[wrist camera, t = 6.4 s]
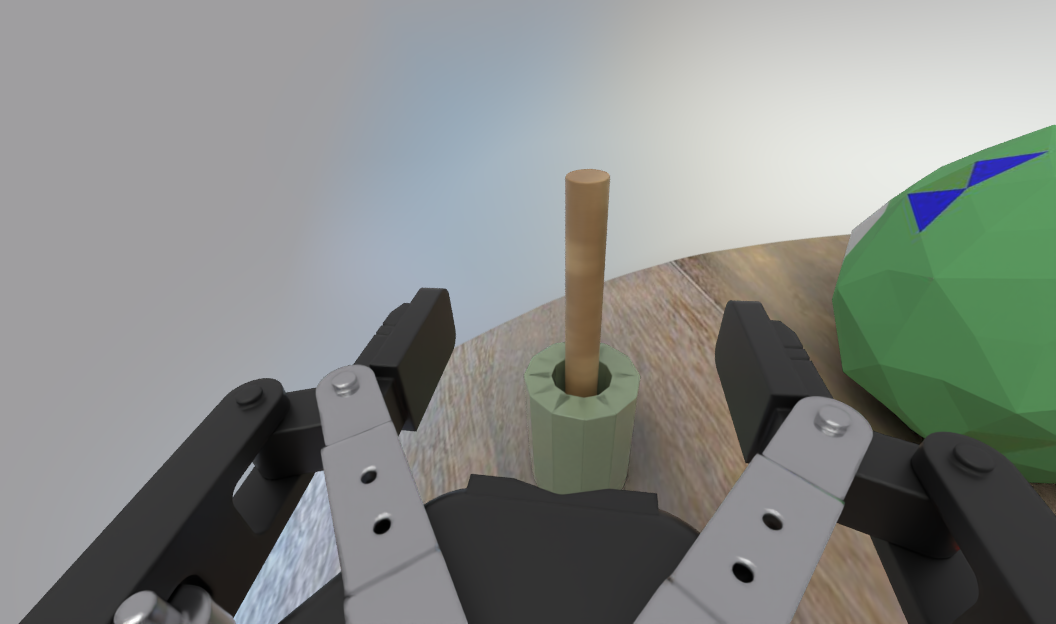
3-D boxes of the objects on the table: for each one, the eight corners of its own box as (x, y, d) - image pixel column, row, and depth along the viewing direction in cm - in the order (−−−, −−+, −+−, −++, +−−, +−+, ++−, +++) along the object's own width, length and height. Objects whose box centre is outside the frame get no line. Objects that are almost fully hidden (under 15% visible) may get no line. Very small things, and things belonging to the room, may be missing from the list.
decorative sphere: (1051, 512, 30) (1359, 701, 13) (774, 347, 40) (752, 337, 23) (1296, 277, 26) (2196, 123, 9) (918, 158, 36) (1016, -20, 19)
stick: (561, 463, 27) (560, 181, 17) (568, 441, 29) (571, 167, 18) (590, 470, 27) (606, 183, 17) (595, 447, 28) (613, 169, 18)
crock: (518, 494, 27) (509, 404, 22) (546, 419, 32) (543, 333, 27) (619, 522, 25) (631, 430, 20) (632, 439, 30) (645, 349, 25)
